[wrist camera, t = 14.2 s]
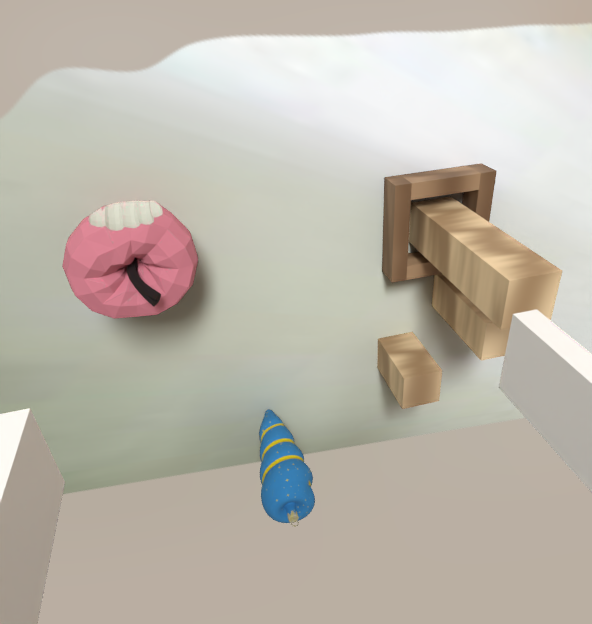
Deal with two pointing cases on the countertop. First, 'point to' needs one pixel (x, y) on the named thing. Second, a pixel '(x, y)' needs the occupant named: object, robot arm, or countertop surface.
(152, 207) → the apple
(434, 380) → the short pin
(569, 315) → the countertop surface
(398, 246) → the collar block
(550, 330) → the robot arm
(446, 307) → the medium pin
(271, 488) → the ornament
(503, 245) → the long pin
